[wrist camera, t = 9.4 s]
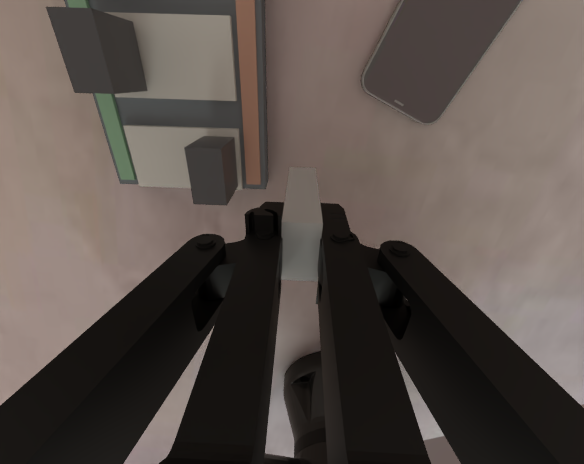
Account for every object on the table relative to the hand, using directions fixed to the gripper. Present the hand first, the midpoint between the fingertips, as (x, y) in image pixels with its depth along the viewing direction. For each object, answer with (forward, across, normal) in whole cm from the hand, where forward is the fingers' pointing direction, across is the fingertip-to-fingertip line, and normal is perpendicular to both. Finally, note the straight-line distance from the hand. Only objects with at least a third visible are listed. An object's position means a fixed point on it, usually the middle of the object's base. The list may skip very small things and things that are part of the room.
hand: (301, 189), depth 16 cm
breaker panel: (+10, +10, -6) cm, 15 cm away
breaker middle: (+7, +13, -6) cm, 16 cm away
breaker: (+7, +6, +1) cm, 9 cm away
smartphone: (+10, -10, -10) cm, 18 cm away
